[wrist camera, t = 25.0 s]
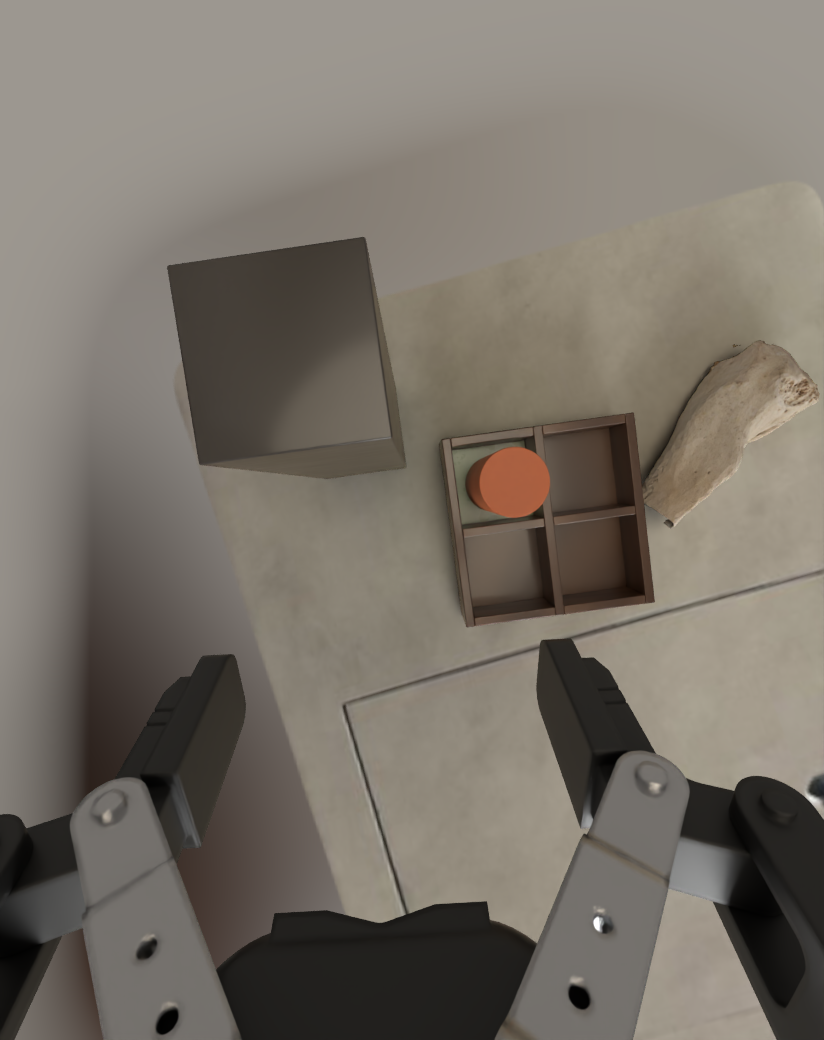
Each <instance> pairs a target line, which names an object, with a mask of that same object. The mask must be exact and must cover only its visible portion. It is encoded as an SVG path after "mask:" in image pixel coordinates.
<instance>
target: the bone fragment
mask: <svg viewBox="0 0 824 1040" xmlns="http://www.w3.org/2000/svg"><path fill="white" fill-rule="evenodd" d="M736 346H737V345H736ZM736 346H735V344H734V345H733V347H736ZM739 346H740V345H739ZM818 400H819V392H818V390H817V385H816V384H815V383H814V382H813V380H812V379H811V378H810V377H809V375H808V374H807V373H806V372H804V371H803V370H802V369H801V368H800V367H799V365H798V364H797V362H796V361H795V360H794V358H793V357H792V356H791V354H790V353H788V352H787V351H786V350H785V349H783V348H781V347H779V346H776V345H768V344H765V342H764V341H761V340H759V341H756V342H754V343H753V344H752V345H750V346H749V347H747V348H746V349H745V350H744V351H743V352H742V353H741V354H740V353H739V354H738V355H737V356H735V357H734V356H733V357H732V358H730V359H726V360H723V361H721V362H718V361H717V362H715V363H714V366H712V367H711V369H710V371H709V373H708V375H707V376H706V377H705V378H704V379H703V381H702V382H701V383H700V384H699V386H698V387H697V389H696V391H695V393H694V394H693V395H692V397H691V398H690V400H689V401H688V404H687V406H686V408H685V410H684V411H683V413H682V414H681V416H680V418H679V420H678V422H677V425H676V428H675V430H674V433H673V434H672V436H671V439H670V441H669V443H668V444H667V446H666V448H665V450H664V451H663V453H662V455H661V456H660V458H659V459H658V460H657V462H656V463H655V466H654V468H653V469H652V470H651V472H650V474H649V475H648V476H647V478H646V480H645V482H644V483H643V484H642V491H643V500H644V504H646V505H648V506H650V507H651V508H653V509H655V510H656V511H658V512H659V513H661V514H662V515H664V516H665V517H667V518H668V520H665V522H664V523H665V524H666V525H667V526H668V527H669V528H670V529H671V528H673V527H675V526H676V525H677V523H678V522H679V521H680V520H681V519H682V518H683V517H684V516H685V515H686V514H687V513H689V512H690V511H691V510H692V509H693V508H694V507H695V506H696V505H698V504H699V503H700V502H701V501H703V500H704V499H706V498H707V497H708V496H709V495H710V494H711V493H712V491H713V490H714V489H715V488H716V487H717V486H718V485H720V484H722V483H723V482H724V481H726V480H727V479H729V478H730V477H731V476H732V475H733V474H734V473H735V472H736V471H737V469H738V467H739V465H740V462H741V460H742V457H743V452H744V448H745V446H746V444H748V443H750V442H753V441H755V440H757V439H760V438H762V437H764V436H766V435H767V434H769V433H771V432H773V431H774V430H775V429H776V428H778V427H780V426H781V425H782V424H783V423H785V422H787V421H789V420H790V419H792V418H793V417H794V416H795V415H796V414H797V413H799V412H801V411H802V410H804V409H806V408H807V407H809V406H810V405H813V404H815V403H817V402H818Z"/></svg>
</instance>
